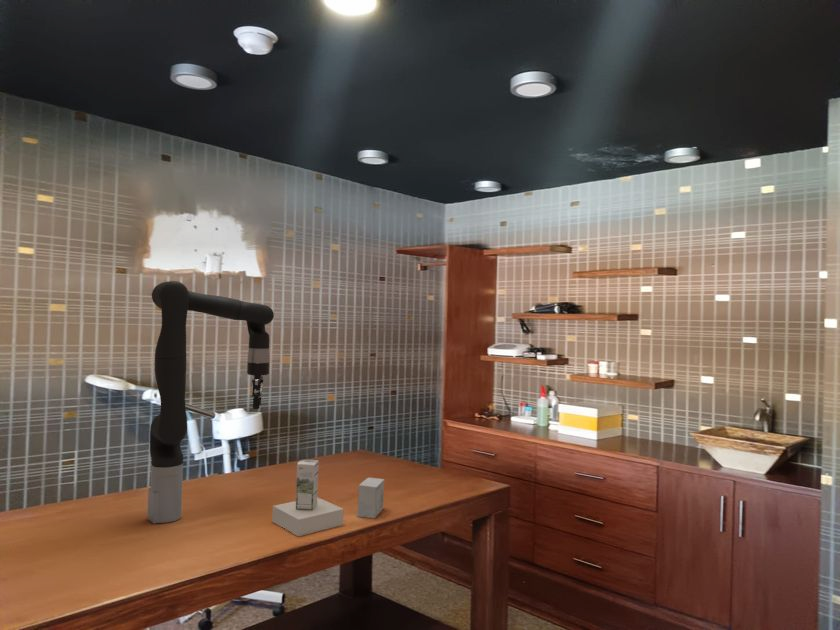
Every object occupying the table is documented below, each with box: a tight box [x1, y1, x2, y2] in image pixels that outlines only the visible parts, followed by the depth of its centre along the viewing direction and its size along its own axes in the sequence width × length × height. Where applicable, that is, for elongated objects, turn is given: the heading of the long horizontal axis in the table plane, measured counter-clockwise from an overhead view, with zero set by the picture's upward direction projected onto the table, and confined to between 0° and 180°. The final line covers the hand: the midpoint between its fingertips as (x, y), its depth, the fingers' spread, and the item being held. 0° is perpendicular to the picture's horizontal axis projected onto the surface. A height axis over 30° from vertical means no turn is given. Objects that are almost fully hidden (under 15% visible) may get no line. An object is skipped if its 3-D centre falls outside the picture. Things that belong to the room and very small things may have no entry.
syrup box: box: [295, 459, 320, 510], centre depth 180 cm, size 6×6×14 cm
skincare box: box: [356, 477, 385, 519], centre depth 192 cm, size 10×6×10 cm, turn 168°
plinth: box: [271, 496, 344, 537], centre depth 180 cm, size 16×16×5 cm
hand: (257, 407), depth 202 cm, fingers open, 8 cm apart
